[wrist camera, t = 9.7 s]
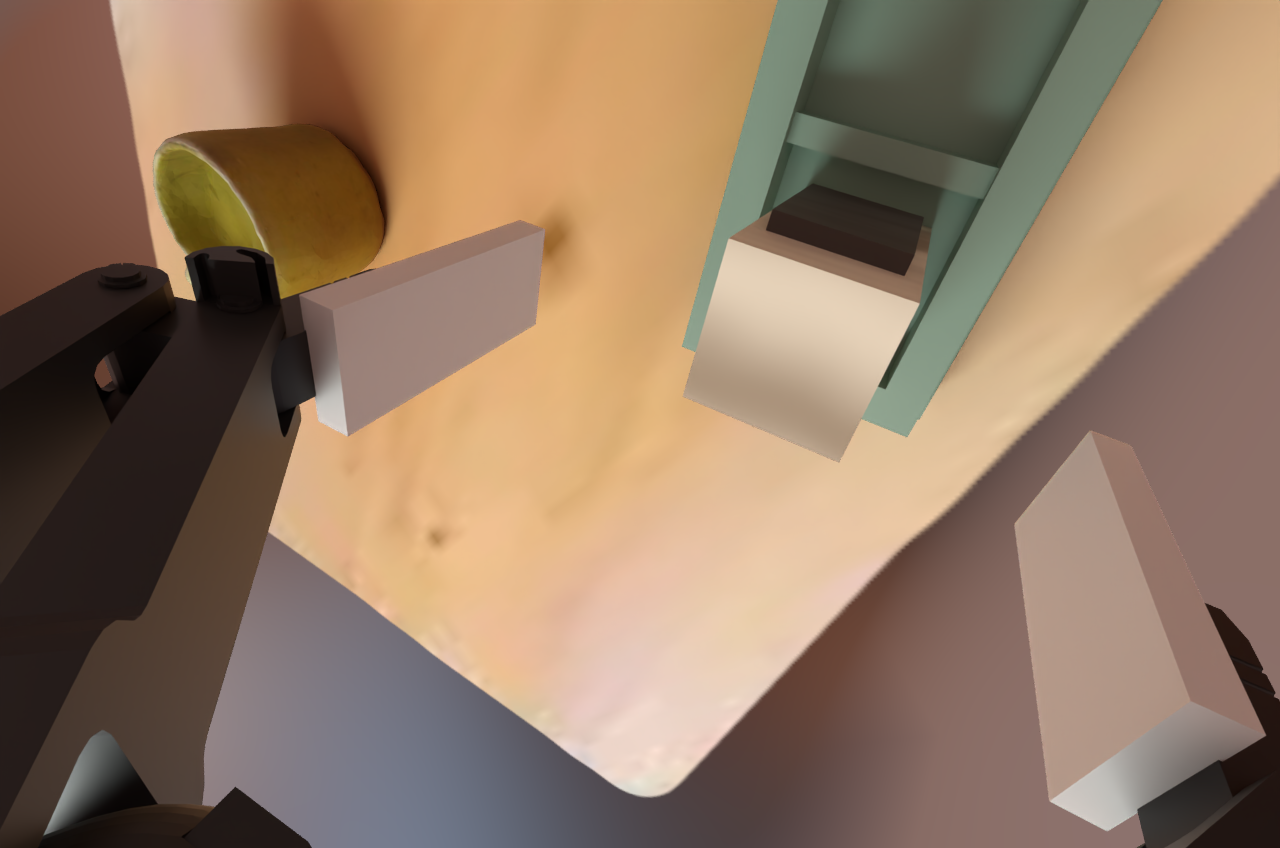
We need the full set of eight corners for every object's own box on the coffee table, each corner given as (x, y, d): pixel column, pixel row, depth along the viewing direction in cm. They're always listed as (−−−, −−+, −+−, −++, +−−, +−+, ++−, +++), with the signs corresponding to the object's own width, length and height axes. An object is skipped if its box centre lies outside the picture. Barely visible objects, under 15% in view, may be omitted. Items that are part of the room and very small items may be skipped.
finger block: (810, 173, 23) (735, 215, 15) (939, 212, 22) (931, 280, 14) (764, 304, 26) (682, 396, 18) (875, 345, 25) (839, 462, 17)
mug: (302, 48, 31) (127, 135, 25) (436, 220, 36) (315, 322, 30) (235, 135, 39) (92, 215, 33) (352, 264, 44) (245, 352, 39)
